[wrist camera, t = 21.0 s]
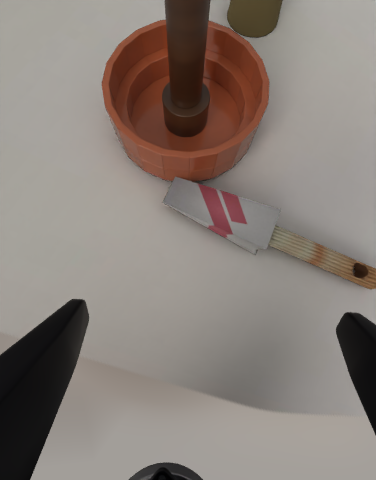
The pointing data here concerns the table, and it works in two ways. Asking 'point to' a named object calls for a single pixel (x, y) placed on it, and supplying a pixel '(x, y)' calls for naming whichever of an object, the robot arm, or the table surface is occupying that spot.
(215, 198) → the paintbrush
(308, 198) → the table surface
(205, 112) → the pestle
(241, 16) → the olive game pawn
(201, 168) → the bowl
